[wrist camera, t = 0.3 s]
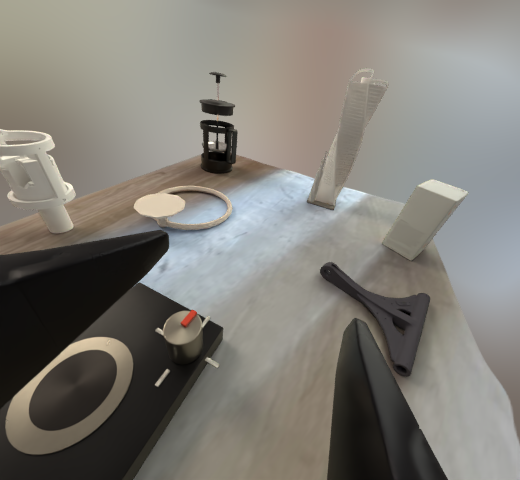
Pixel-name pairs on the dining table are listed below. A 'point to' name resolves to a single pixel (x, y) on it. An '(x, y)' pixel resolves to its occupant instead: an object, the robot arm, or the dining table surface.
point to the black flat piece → (388, 316)
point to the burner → (70, 396)
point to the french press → (217, 159)
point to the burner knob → (183, 336)
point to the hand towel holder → (176, 207)
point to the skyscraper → (346, 139)
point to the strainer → (35, 178)
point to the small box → (423, 217)
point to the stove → (134, 402)
